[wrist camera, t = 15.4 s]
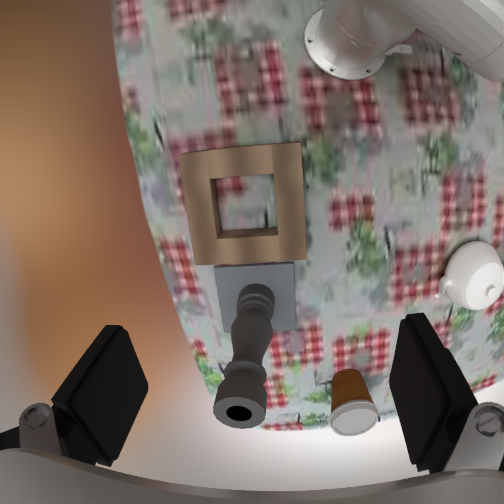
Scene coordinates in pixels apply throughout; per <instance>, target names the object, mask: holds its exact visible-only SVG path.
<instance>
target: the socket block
mask: <svg viewBox="0 0 504 504" xmlns="http://www.w3.org/2000/svg"><path fill="white" fill-rule="evenodd" d="M179 160H180V168H181V175H182V183H183V190H184V197H185V204H186V210H187V217H188V223H189V230H190V236H191V242H192V248H193V254H194V260H195V265H210V264H230V263H249V262H268V261H287V260H305V259H307V249H306V224H305V203H304V186H303V170H302V155H301V143H300V142H287V143H272V144H259V145H248V146H237V147H227V148H218V149H210V150H202V151H194V152H187V153H183V154H180V155H179ZM272 173H274V186H275V198H276V211H277V225H278V227H272V228H256V229H241V230H226V231H222V228H221V221H220V213H219V205H218V197H217V188H216V180H215V178H224V177H234V176H246V175H258V174H272Z"/></svg>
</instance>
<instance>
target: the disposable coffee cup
mask: <svg viewBox="0 0 504 504" xmlns="http://www.w3.org/2000/svg"><path fill="white" fill-rule="evenodd" d="M378 416H379V409H378V407H377V406H376V405H375V404H374V403H373V400H372V398H371V396H370V394H369V392H368V389H367V387H366V385H365V382H364V380H363V378H362V376H361V374H360V372H358V371H357V370H353V369H347V370H343V371H341V372H339V373H337V374H336V375H335V376H334V378H333V380H332V404H331V415H330V418H329V425H330V426H331V428H332V429H333V431H334V432H336V433H337V434H339V435H342V436H355V435H359V434H362V433H364V432H366V431H368V430H370V429H371V428H372V427H373V426H374V425H375V424H376V422H377V420H378Z"/></svg>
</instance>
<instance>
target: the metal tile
mask: <svg viewBox="0 0 504 504" xmlns="http://www.w3.org/2000/svg"><path fill="white" fill-rule="evenodd" d="M214 273H215V279H216V286H217V292H218V298H219V304H220V310H221V316H222V322H223V328H224V332H231V326H232V323H233V322H234V320H235V319H236V317H237V311H236V306H237V301H238V297H239V293H240V292H241V290H242V289H243V288H244V287H246V286H247V285H249V284H254V283H257V284H263V285H265V286H267V287H269V288H270V290H271V291H272V292H273V294H274V297H275V307H274V314H273V316H272V320H271V321H270V322H271V325H272V328H273V331H288V330H296V317H295V289H294V266H293V262H280V263H261V264H242V265H222V266H214Z"/></svg>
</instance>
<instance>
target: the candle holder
mask: <svg viewBox="0 0 504 504" xmlns="http://www.w3.org/2000/svg"><path fill="white" fill-rule="evenodd" d="M274 307H275V297H274V294H273V292H272V291H271V290H270V288H269V287H267V286H265V285H263V284H257V283H254V284H249V285H247V286H246V287H244V288H243V289H242V290H241V292H240V293H239V297H238V301H237V306H236V311H237V317H236V319H235V320H234V322H233V323H232V326H231V339H232V345H233V352H234V354H233V359H232V361H231V362H229V363H228V365H227V366H226V368H225V369H224V378H225V379H224V380H223V381H222V383H221V384H220V385H219V387H218V390H217V394H216V398H215V402H214V406H213V413H214V415H215V416H216V418H217V419H218V420H219V421H220V422H222V423H223V424H225V425H228V426H230V427H234V428H241V429H245V428H252V427H255V426H257V425H260V424H261V423H262V422H263V421H264V419H265V414H266V402H267V392H266V389H265V387H264V385H263V384H264V383H265V382H266V376H267V374H266V371H265V369H264V367H263V366H262V359H263V356H264V354H265V352H266V350H267V348H268V345H269V343H270V341H271V339H272V335H273V328H272V325H271V322H270V321H271V320H272V316H273V314H274Z"/></svg>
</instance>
